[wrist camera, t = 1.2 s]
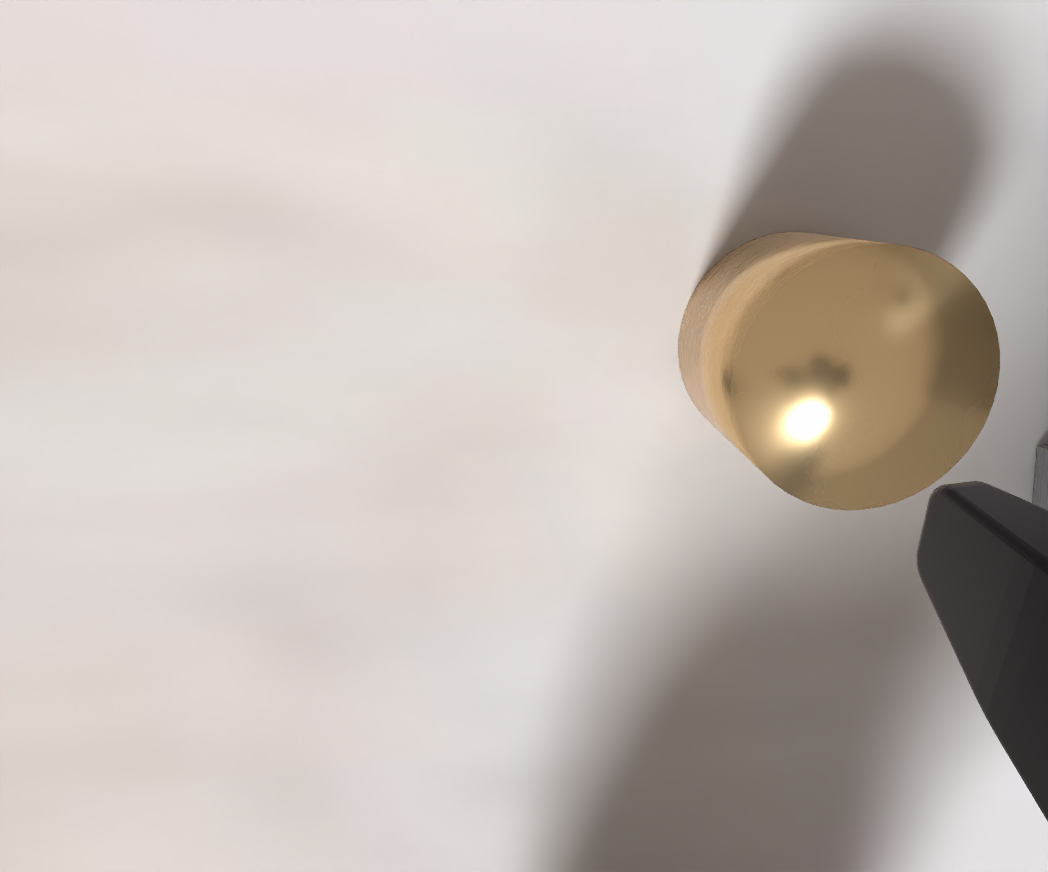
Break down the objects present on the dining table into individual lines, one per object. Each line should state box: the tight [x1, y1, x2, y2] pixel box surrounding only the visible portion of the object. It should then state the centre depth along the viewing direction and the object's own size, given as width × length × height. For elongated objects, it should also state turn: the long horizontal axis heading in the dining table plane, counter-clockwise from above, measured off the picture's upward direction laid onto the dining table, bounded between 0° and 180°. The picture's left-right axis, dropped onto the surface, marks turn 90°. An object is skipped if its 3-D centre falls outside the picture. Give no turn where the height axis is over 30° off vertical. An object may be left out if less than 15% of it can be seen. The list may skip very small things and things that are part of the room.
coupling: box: [678, 232, 1000, 510], centre depth 19 cm, size 5×5×4 cm
